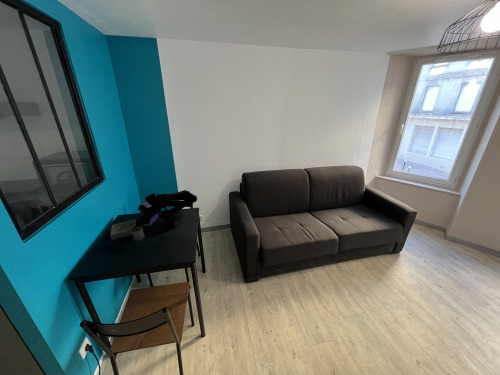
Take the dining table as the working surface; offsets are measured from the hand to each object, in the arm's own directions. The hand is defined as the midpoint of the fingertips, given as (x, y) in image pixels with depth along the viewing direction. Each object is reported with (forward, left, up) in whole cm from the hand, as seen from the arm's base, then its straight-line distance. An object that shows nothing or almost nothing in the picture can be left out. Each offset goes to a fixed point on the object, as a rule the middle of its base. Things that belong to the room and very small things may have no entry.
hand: (135, 225), depth 126 cm
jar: (0, -3, -12) cm, 12 cm away
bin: (+9, -18, -12) cm, 23 cm away
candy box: (-9, -23, -12) cm, 27 cm away
